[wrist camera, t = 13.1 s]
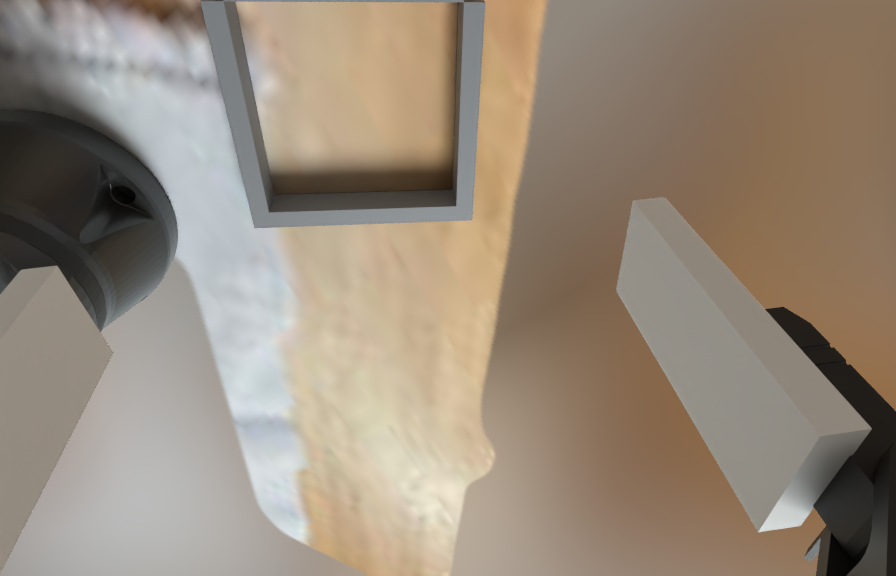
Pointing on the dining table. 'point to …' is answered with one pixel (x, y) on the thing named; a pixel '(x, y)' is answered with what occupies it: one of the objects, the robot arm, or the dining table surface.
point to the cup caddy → (359, 204)
